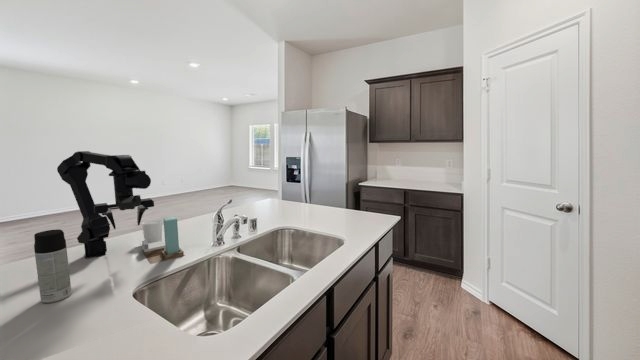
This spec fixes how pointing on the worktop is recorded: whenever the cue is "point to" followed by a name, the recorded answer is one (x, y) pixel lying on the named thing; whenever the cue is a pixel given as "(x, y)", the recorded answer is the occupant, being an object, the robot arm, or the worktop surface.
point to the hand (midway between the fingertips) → (127, 227)
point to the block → (171, 235)
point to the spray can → (52, 265)
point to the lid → (152, 246)
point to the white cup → (152, 230)
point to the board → (161, 255)
